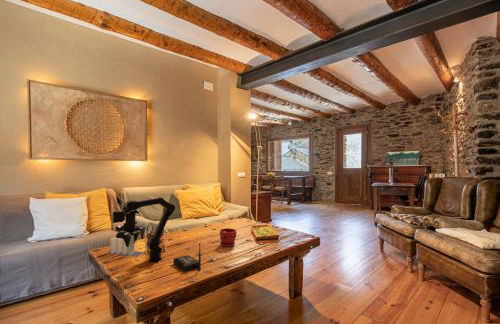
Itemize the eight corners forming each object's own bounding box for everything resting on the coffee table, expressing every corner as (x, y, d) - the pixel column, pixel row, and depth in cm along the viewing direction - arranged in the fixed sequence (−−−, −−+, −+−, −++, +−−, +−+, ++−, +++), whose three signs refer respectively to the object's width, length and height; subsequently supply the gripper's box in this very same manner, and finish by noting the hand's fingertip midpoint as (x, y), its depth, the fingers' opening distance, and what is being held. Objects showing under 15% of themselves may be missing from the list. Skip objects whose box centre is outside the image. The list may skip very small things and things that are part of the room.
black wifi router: (170, 265, 161) (171, 238, 161) (190, 259, 170) (190, 234, 170) (185, 275, 146) (185, 246, 146) (206, 269, 155) (206, 241, 155)
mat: (144, 253, 181) (144, 252, 181) (136, 257, 173) (136, 256, 173) (114, 250, 187) (114, 249, 187) (105, 254, 178) (105, 253, 178)
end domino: (116, 250, 184) (116, 237, 184) (111, 253, 179) (111, 239, 179) (115, 250, 184) (115, 237, 184) (109, 253, 179) (109, 239, 179)
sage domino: (133, 250, 161) (134, 235, 161) (128, 253, 156) (128, 237, 156) (131, 250, 161) (132, 234, 161) (126, 253, 156) (126, 237, 156)
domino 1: (122, 251, 183) (122, 237, 183) (117, 253, 178) (117, 239, 178) (120, 251, 183) (121, 237, 183) (115, 253, 178) (115, 239, 178)
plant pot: (228, 248, 191) (228, 233, 191) (216, 245, 199) (216, 230, 199) (239, 244, 201) (239, 229, 201) (227, 241, 209) (227, 227, 209)
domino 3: (134, 252, 181) (134, 238, 181) (129, 254, 176) (129, 240, 176) (132, 252, 181) (133, 238, 181) (128, 254, 176) (128, 240, 176)
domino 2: (128, 251, 182) (128, 238, 182) (123, 254, 177) (123, 240, 177) (126, 251, 182) (126, 237, 182) (122, 254, 177) (122, 240, 177)
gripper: (129, 217, 169) (129, 240, 169) (108, 223, 151) (108, 249, 151) (144, 218, 167) (143, 241, 167) (124, 224, 149) (124, 251, 149)
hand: (130, 245), depth 158 cm, fingers closed on sage domino, 5 cm apart
